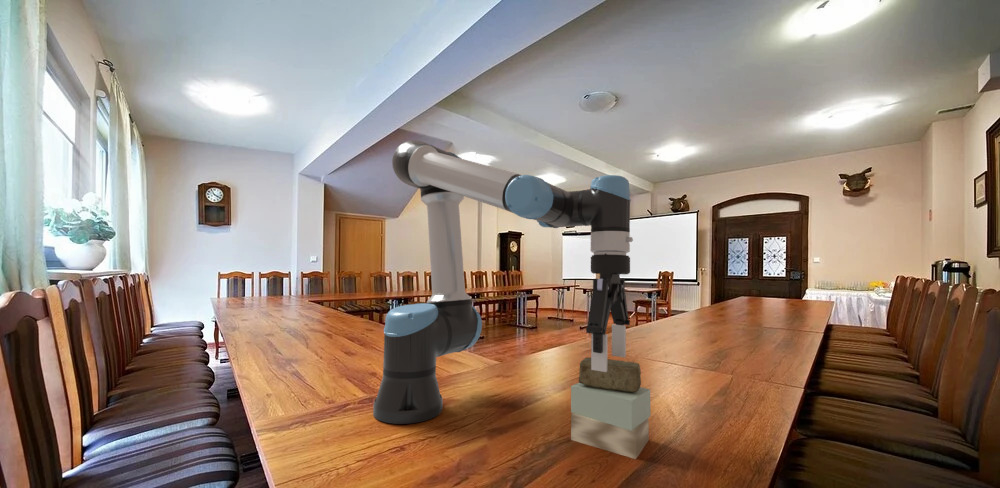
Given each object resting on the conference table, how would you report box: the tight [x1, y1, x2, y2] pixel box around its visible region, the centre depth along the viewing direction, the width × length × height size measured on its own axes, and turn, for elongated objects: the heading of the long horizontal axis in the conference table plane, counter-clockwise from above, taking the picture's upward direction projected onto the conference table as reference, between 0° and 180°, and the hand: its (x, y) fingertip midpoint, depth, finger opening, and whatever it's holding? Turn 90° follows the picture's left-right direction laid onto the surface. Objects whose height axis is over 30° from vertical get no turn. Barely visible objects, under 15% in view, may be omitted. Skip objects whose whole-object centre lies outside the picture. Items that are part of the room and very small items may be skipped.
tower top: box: [570, 382, 652, 431], centre depth 71 cm, size 12×9×5 cm
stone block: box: [578, 356, 642, 392], centre depth 72 cm, size 6×12×5 cm, turn 66°
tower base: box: [570, 413, 650, 460], centre depth 71 cm, size 12×9×5 cm
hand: (609, 363), depth 72 cm, fingers open, 13 cm apart
